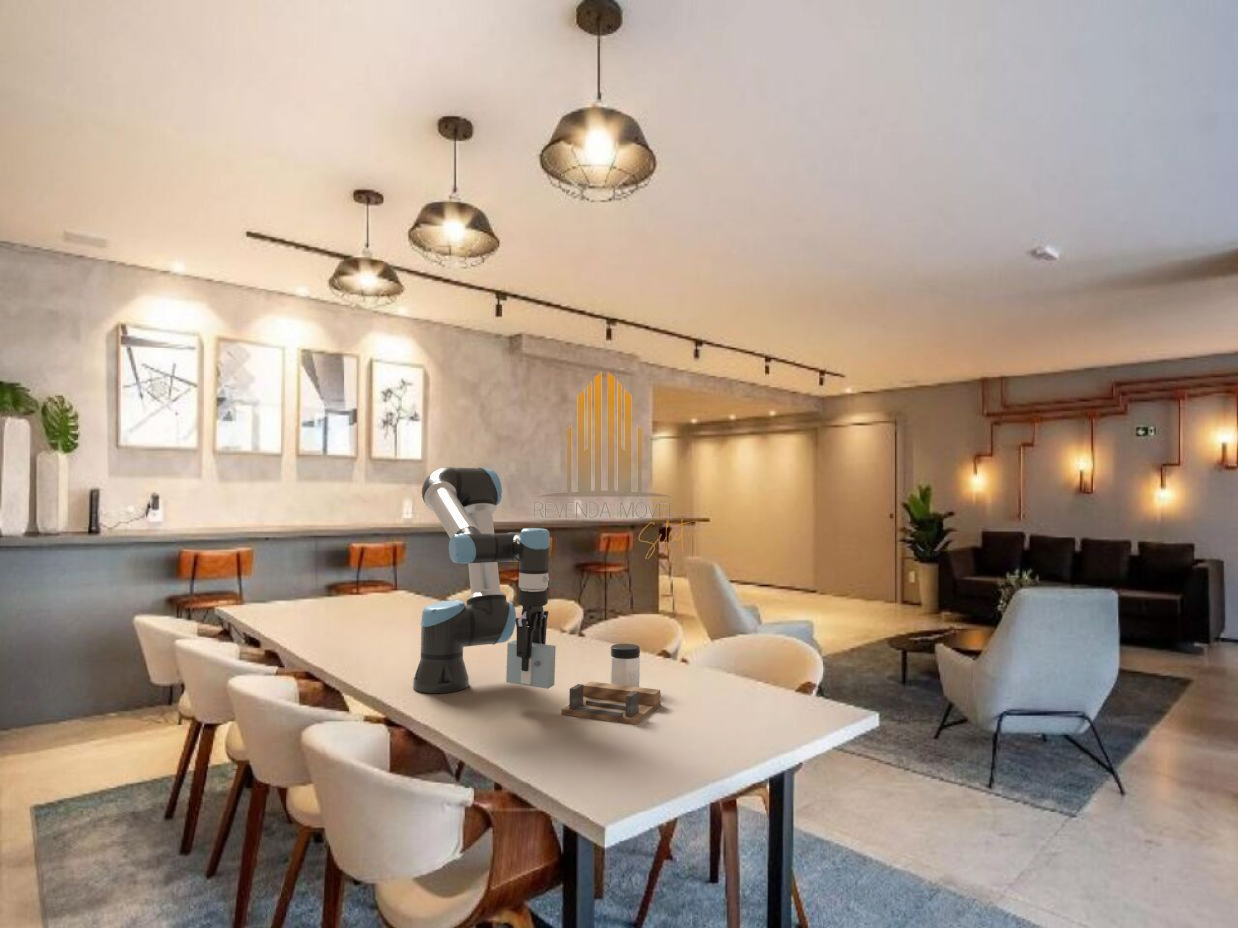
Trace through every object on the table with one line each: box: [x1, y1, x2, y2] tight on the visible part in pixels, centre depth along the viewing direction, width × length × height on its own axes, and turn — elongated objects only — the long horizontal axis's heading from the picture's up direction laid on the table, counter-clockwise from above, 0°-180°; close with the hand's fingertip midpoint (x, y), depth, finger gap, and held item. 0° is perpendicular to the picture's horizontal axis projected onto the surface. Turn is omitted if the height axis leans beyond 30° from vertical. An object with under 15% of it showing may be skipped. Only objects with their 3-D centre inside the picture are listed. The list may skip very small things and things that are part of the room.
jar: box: [609, 643, 641, 687], centre depth 202 cm, size 9×8×12 cm
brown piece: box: [560, 681, 662, 726], centre depth 183 cm, size 20×18×6 cm
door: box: [505, 640, 557, 690], centre depth 183 cm, size 12×4×10 cm, turn 68°
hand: (530, 680), depth 184 cm, fingers closed on door, 3 cm apart
